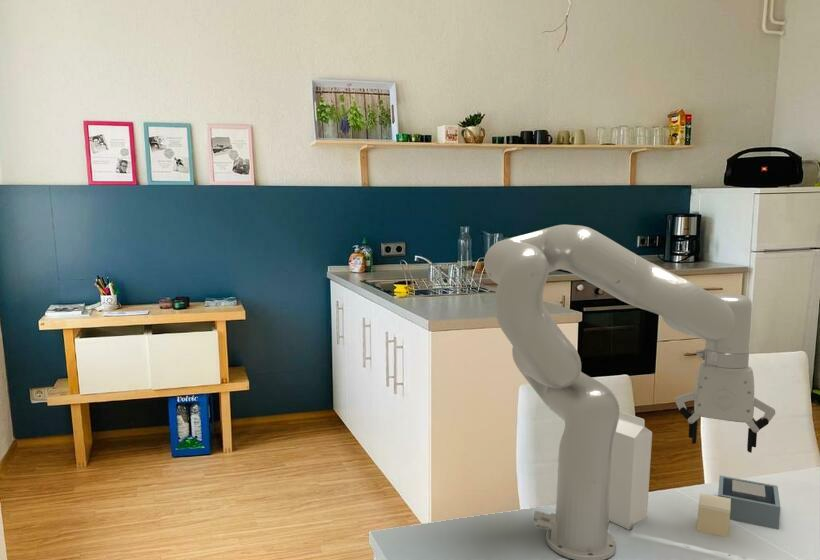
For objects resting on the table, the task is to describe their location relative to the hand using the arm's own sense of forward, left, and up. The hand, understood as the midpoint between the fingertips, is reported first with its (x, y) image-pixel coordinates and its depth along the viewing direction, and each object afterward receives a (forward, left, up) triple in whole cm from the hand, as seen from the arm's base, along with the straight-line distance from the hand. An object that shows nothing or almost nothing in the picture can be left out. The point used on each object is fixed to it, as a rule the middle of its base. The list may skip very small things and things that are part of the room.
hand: (721, 445), depth 126 cm
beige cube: (0, 0, -18) cm, 18 cm away
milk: (-16, -3, -18) cm, 24 cm away
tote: (+6, +11, -18) cm, 21 cm away
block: (+6, +11, -17) cm, 21 cm away
